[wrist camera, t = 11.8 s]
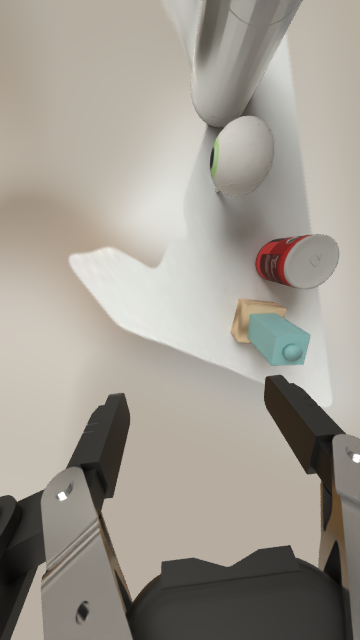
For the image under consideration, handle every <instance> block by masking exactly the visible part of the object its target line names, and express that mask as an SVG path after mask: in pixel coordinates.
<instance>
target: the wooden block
mask: <svg viewBox="0 0 360 640" xmlns="http://www.w3.org/2000/svg"><path fill="white" fill-rule="evenodd" d="M286 310H287V309H286V308H284V307H282V306H280V305H278V304H276V303H274V302H265V301H256V300H247V299H239V300H238V304H237V309H236V313H235V317H234V321H233V326H232V330H231V333H232V335H233V336H234V337H235V339H236V340H237V341H238V342H244V343H252V342H251V341H250V340H249V339H248V337H247V336H248V327H249V318H250V314H265V313H276V314H278V315H279V316H281V317H282V318H284V316H285V313H286Z"/></svg>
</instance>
